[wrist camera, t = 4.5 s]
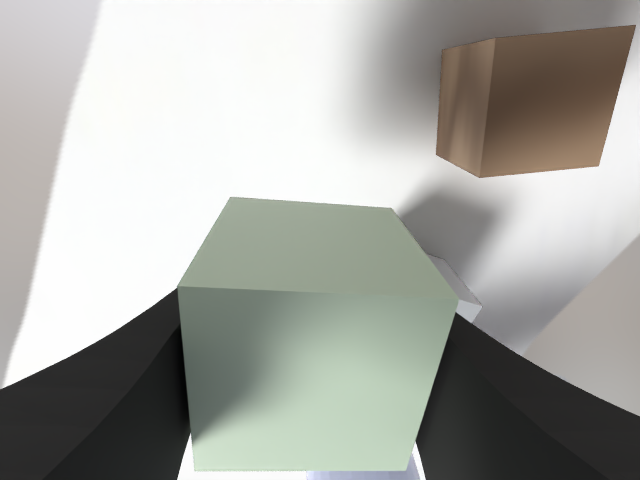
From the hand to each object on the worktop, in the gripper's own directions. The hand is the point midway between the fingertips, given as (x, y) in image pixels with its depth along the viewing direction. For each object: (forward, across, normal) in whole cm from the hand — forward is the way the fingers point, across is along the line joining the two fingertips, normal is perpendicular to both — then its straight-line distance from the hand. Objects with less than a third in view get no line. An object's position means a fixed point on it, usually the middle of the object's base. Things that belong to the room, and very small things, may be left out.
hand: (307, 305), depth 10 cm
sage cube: (+2, 0, 0) cm, 2 cm away
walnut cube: (+10, -9, -6) cm, 15 cm away
